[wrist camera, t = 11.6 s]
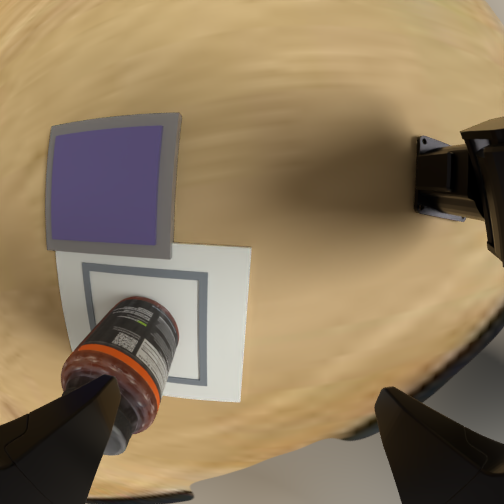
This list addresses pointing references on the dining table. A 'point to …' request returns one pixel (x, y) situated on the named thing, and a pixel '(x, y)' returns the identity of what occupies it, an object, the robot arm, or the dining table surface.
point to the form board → (171, 308)
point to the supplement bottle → (127, 363)
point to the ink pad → (113, 185)
